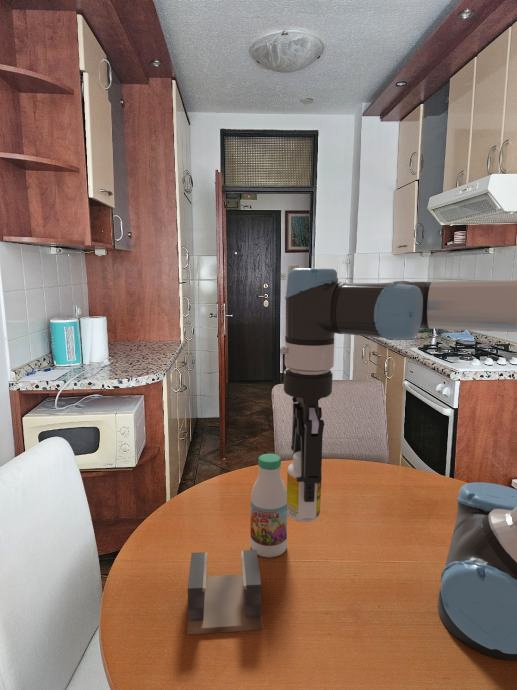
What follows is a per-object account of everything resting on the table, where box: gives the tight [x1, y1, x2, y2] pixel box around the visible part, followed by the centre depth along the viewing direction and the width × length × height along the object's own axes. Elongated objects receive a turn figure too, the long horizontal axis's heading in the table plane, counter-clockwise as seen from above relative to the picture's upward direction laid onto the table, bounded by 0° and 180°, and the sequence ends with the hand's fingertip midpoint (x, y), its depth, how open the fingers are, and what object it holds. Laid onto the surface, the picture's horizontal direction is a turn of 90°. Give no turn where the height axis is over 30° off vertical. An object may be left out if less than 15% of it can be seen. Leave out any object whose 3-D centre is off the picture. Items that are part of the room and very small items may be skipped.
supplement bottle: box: [286, 451, 323, 523], centre depth 71 cm, size 6×6×10 cm
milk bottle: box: [249, 453, 289, 558], centre depth 90 cm, size 8×8×20 cm
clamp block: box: [186, 549, 263, 635], centre depth 75 cm, size 12×12×7 cm
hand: (303, 506), depth 71 cm, fingers closed on supplement bottle, 6 cm apart
